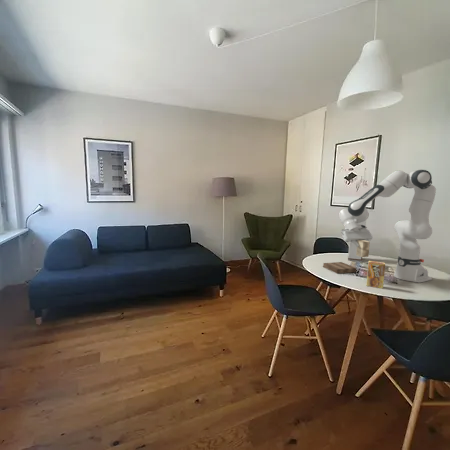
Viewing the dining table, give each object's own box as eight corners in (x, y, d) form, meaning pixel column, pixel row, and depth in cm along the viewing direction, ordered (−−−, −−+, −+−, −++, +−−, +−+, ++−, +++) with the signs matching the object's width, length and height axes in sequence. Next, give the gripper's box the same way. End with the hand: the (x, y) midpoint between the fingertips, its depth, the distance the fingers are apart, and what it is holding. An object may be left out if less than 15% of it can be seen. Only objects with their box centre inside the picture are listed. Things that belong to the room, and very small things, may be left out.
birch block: (362, 254, 171) (363, 240, 170) (368, 256, 166) (369, 241, 165) (356, 255, 170) (357, 240, 168) (361, 257, 165) (363, 241, 164)
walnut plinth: (341, 265, 201) (341, 261, 201) (356, 272, 186) (356, 268, 185) (323, 266, 197) (323, 263, 197) (336, 273, 182) (337, 269, 182)
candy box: (382, 286, 158) (385, 262, 156) (383, 288, 155) (385, 264, 153) (366, 283, 163) (368, 260, 160) (366, 286, 159) (368, 262, 157)
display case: (362, 262, 212) (366, 220, 207) (348, 260, 217) (351, 219, 212) (361, 258, 222) (365, 218, 217) (348, 257, 227) (351, 217, 222)
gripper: (342, 226, 170) (351, 244, 162) (368, 225, 175) (378, 242, 167) (337, 232, 175) (346, 249, 167) (362, 231, 180) (372, 248, 172)
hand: (362, 246), depth 167 cm, fingers closed on birch block, 5 cm apart
